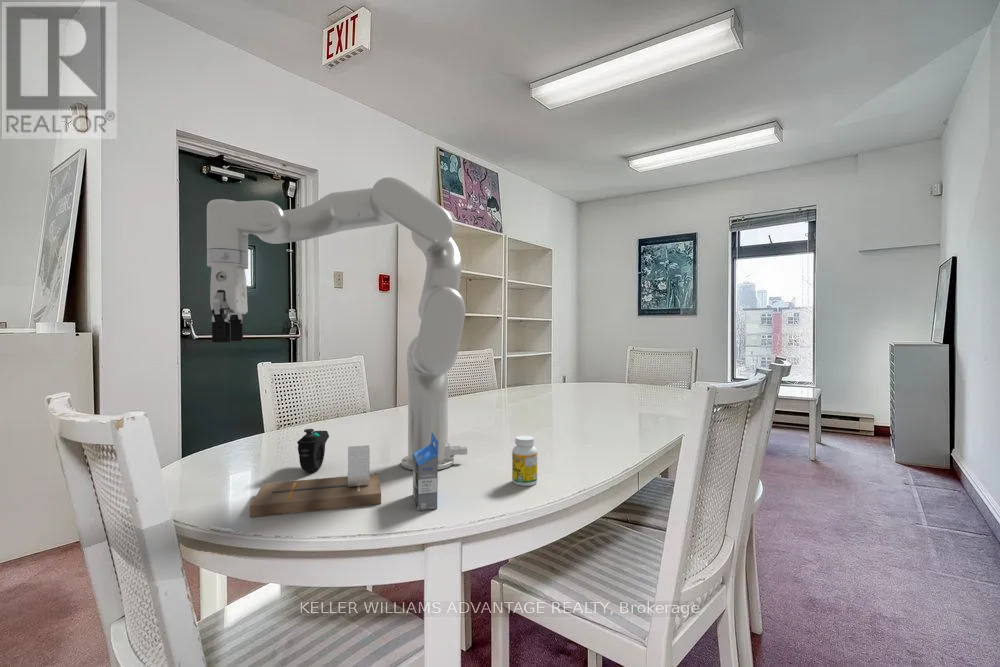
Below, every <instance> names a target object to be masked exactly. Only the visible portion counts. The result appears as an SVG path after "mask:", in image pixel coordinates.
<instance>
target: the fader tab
mask: <svg viewBox="0 0 1000 667" xmlns="http://www.w3.org/2000/svg"><path fill="white" fill-rule="evenodd" d="M370 452H371V450H370V445H353V446H350V445H349V446H348V447H347V476H348V487H350V486H361V485H369V484H370V474H371V473H370V466H371V465H370V458H371V456H370Z"/></svg>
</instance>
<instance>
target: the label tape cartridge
mask: <svg viewBox="0 0 1000 667" xmlns="http://www.w3.org/2000/svg"><path fill="white" fill-rule="evenodd" d="M434 441H435V446H434V444H433V442H434ZM438 444H439V442H438V440H437V439H436V437H435V435H434V434H433V432H432V433H431V444H429V445H428V446H426V447H424V448H422V449H420V450H418V451H416V452H414V453H413V470H412V495H413V500H414V503H415V506H416V509H417V512H423V511H433V510H438V484H439V483H438V482H439V481H438V478H439V477H438V473H439V470H438Z"/></svg>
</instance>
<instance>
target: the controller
mask: <svg viewBox="0 0 1000 667" xmlns="http://www.w3.org/2000/svg"><path fill="white" fill-rule="evenodd" d="M303 432H304V433H306V434H304V435H303V436H302V437H301V438H300V439H298V440H297V442H296V443H297V451H298V452H297V453H298V459H299V465H300V467H301V470H302V471H305V472H316V471H318V470H320V468H322V465H323V463H324V458H325V452H326V444H327V440H328V439H329V437H330V435H329V432H328V430H315V429H314V428H306V429H303Z"/></svg>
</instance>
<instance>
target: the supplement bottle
mask: <svg viewBox="0 0 1000 667" xmlns="http://www.w3.org/2000/svg"><path fill="white" fill-rule="evenodd" d="M514 441H515V446H514V447H513V448H512V451H511V452H512V453H511V454H512V455H511V456H512V457H511V458H512V459H511V460H512V461H511V462H512V463H511V464H512V467H511V468H512V469H511V471H512V472H511V474H512V475H511V478H512V479H511V481H512V484H514V485H516V486H519V487H520V486H521V487H531V486H535V485H536V484H537V482H538V448H536V447H535V446H534V445H535V438H534V437H533V436H531V435H518V436H515V440H514Z"/></svg>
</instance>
